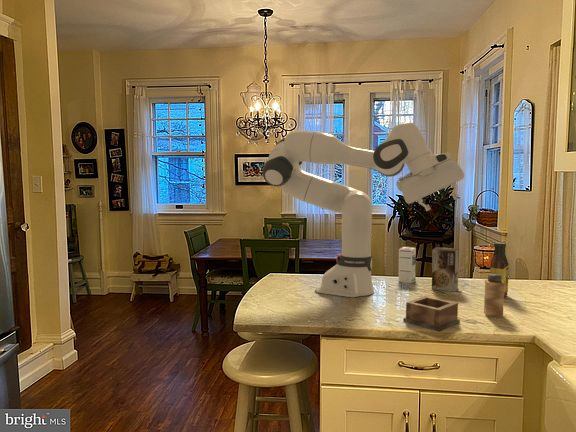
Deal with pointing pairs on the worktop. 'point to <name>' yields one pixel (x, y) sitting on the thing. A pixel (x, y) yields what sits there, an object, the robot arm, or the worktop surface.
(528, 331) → the worktop surface
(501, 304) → the cylinder
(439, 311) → the socket
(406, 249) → the syrup box
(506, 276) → the sauce bottle
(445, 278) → the coffee box
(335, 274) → the robot arm
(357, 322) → the worktop surface
